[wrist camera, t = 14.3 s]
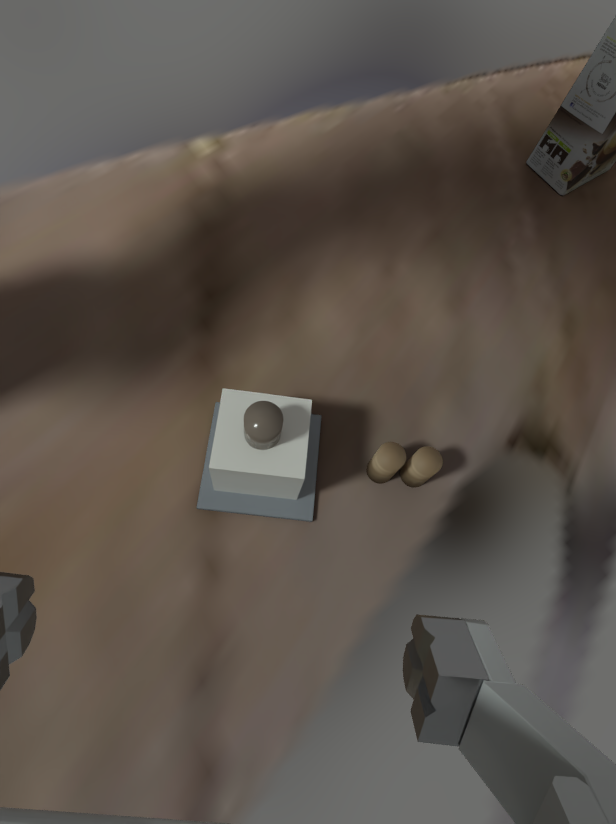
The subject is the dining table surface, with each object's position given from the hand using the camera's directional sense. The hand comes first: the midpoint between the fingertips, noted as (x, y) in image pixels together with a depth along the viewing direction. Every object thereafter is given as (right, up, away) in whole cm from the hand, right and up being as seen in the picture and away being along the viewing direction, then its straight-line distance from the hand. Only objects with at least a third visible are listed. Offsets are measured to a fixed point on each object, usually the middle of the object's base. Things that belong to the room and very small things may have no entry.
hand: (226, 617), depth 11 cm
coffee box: (+33, +34, +49) cm, 68 cm away
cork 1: (+8, 0, +31) cm, 32 cm away
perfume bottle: (-2, +1, +30) cm, 30 cm away
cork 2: (+11, -1, +31) cm, 33 cm away
